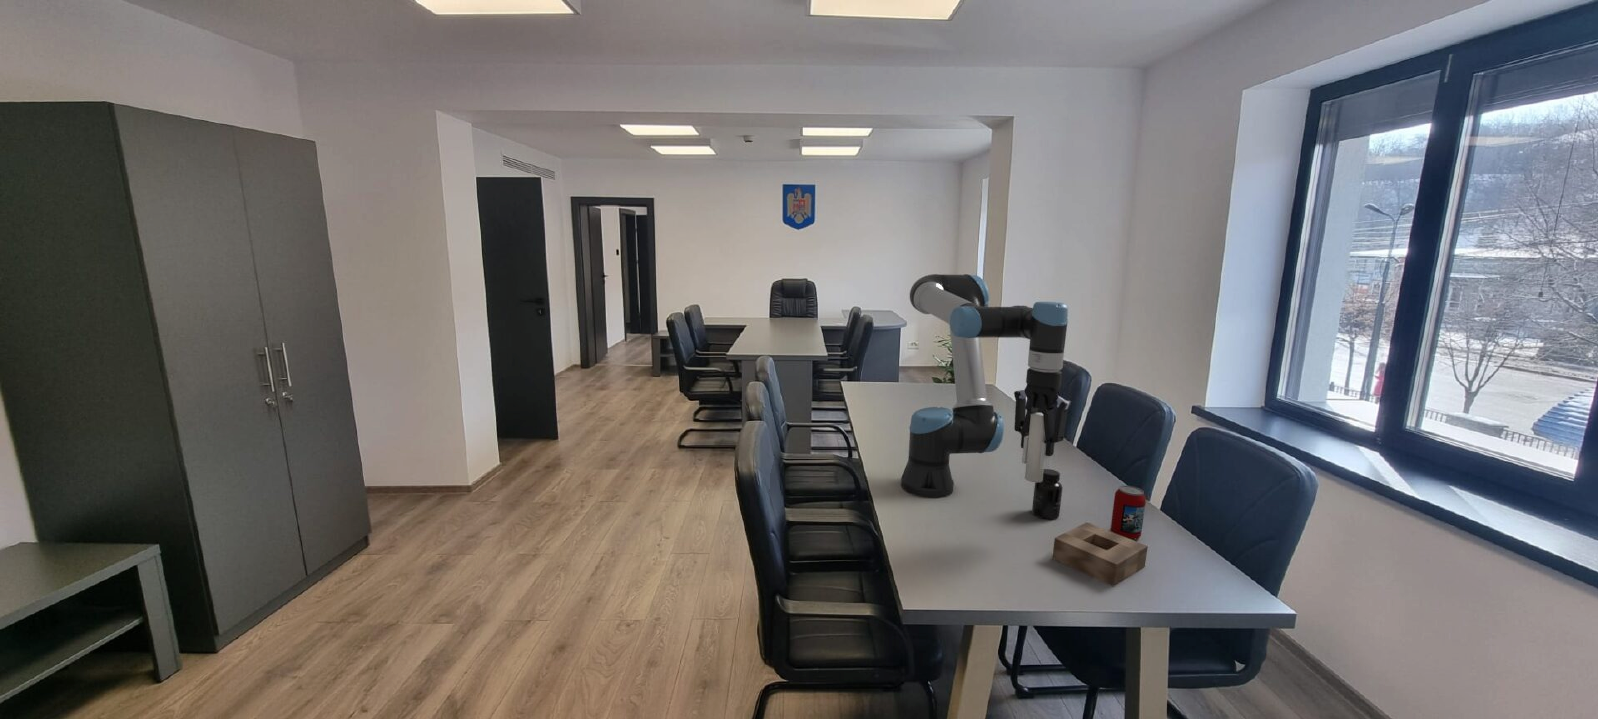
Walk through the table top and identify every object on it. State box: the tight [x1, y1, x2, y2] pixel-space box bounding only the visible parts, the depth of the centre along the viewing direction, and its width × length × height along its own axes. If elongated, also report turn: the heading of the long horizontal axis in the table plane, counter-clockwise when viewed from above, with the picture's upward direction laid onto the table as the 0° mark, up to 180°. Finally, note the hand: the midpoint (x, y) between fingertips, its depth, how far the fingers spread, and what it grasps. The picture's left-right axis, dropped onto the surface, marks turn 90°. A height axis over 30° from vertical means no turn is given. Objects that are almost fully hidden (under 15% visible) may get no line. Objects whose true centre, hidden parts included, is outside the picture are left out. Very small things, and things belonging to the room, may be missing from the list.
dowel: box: [1024, 412, 1045, 483], centre depth 143 cm, size 4×4×16 cm
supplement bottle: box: [1031, 468, 1063, 520], centre depth 159 cm, size 7×7×12 cm
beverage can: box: [1110, 485, 1147, 540], centre depth 149 cm, size 7×7×12 cm
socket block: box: [1052, 522, 1149, 587], centre depth 136 cm, size 14×14×5 cm
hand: (1035, 464), depth 144 cm, fingers closed on dowel, 4 cm apart
